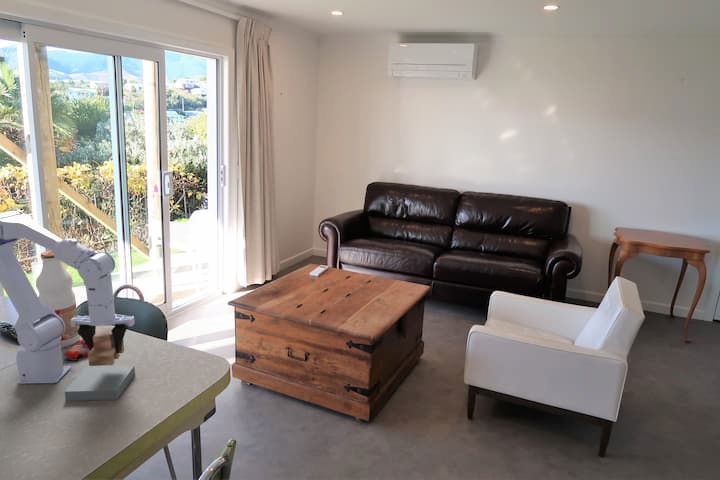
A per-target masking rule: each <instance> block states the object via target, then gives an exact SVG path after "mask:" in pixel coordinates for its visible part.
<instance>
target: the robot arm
mask: <svg viewBox="0 0 720 480" xmlns="http://www.w3.org/2000/svg"><path fill="white" fill-rule="evenodd" d="M20 239H25V240H27V241H29V242H32V243H34V244H36V245H39V246H40V247H42V248H45V249H47V250H49V251H53V254H54V257H55V258H56V259H58V260H60V261H61V263H64V264H65V265H67V266H69V267H71V268H72V269H75V270H76V271H77V273H78V275H79V276H80V278H81V279H82V281H83V286H85V290H86V291H85V292H86V300H87V308H88V315H82V316H78V317H73V318H72V319H71V320H70V321H71V327H76V326H79V329H78V331H77V332H78V334H79V335H80V338H81V339H83V340H84V341H85V343H86V344H87V346H88V348H89V351H90V350H91V349H92V348H93V347H94V343H93V336H94V335H95V334H96V330H97V329H96V327H103V326H105V327H106V326H114V327H112V328H113V329H112V330H111V332H112V334H113V338H114V342H115V351H116V353H119V352H120V351H121V350H122V342H124V337H125V333H126V332H127V329H128V327H133V326H134V324H135V323H136V322H135V316H134V315H132V316H131V315H124V314H118V313H116V311H115V300H114V292H113V283H112V282H113V281H112V280H113V279H112V272H114V270H115V268H116V262H115V258H114V257H113V256H112V255H111V254H109V253H108V252H106V251H102V250H101V251H96V250H94V249H93V248H89V247H87V246H85V245H83V244H81V243H79V242H78V240H77V239H75V238H70V237H69V238H64V239H62V238H60V237H59V236H57V235H55V234H54V233H53V232H51V231H49V230H48V229H46V228H44V227H43V226H41V225H40V224H38V223H36V222H35V221H33V219H32V217H31V215H30V214H27V213H25V212H23V211H22V210H20V209H15V208H14V209H11V210H8V211H4V212H0V285H1V286H2V288H3V290H4V291H5V293H6V295H7V297H8V298H9V300H10V302H11V304H12V306H13V308H14V309H15V311H16V313H17V315H18V317H17V319H16V322H15V324H14V327H13V329H14V330H15V332H16V335H17V336H16V338H17V342H18V344H19V345H20V346H19V348H18V350H17V354H16V367H17V372H18V377H19V380H18V381H17V383H18V384H19V385H23V384H24V385H26V384H56V383H58V382H59V381H60V380H61V379H62V378H63V377H64V376H65V375H66V373H68V371H70V369H72V367H71V366H70V365H65V366H64V361H63V360H64V359H63V355H62V354H63V352H62V348H61V345H60V340H61V339H62V338H61V335H62V334H63V333H64V331H65V323H64V321H63V320H62V319H61V318H60V317H59V316H58V315H57V314H56V313H55V311H54V309H52V308H49V307H45V306H43V305H42V303H41V301H40V300H39V298H38V297H39V295H38V293H36V291H35V289H34V287H33V285H32V283H31V281H30V280H29V278H28V276H27V275H26V272H25V270H24V269H23V267H22V265H21V263H20V262H19V260H18V258H17V256H16V255H15V252H14V248H15V247H16V244H17V242H19V240H20ZM119 354H120V353H119Z"/></svg>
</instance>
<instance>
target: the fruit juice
mask: <svg viewBox="0 0 720 480" xmlns="http://www.w3.org/2000/svg"><path fill="white" fill-rule="evenodd" d="M40 259H41V261H42V268H41V272H40V273H39V275H38V276H37V278H36V280H35V287H36V289H37V291H38V294H39V295H38V298H39V300H40V301H41V303H42V305H43V306H45V307H49V308H52V309H54V311H55V313H56V314H57V315H58V316H59V317H60V318H61V319H62V320H63V321H64V323H65V331H64V333H63V334H62V335H61V338H62V339H61V340H60V345H61V349H63V348H66V347H70V346H74V345H76V343H78V342H79V341H80V340H81V339H80V338H81V336H80V335H79V334H78V332H77V331H78V329H79V326H76V327H71V321H70V320H71V319H72V318H73V317H79V315H78V308H77V301H76V296H75V295H76V294H75V293H74V291H73V282H74V280H73V276H72V274H71V273H70V272H68V271H67V270H66V269H65V268H64V266H63V264H62V262H61V261H60V260H58V259H56V258H55V257H54V254H53V251H51V250H49V251H43V252H42V253H40Z"/></svg>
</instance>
